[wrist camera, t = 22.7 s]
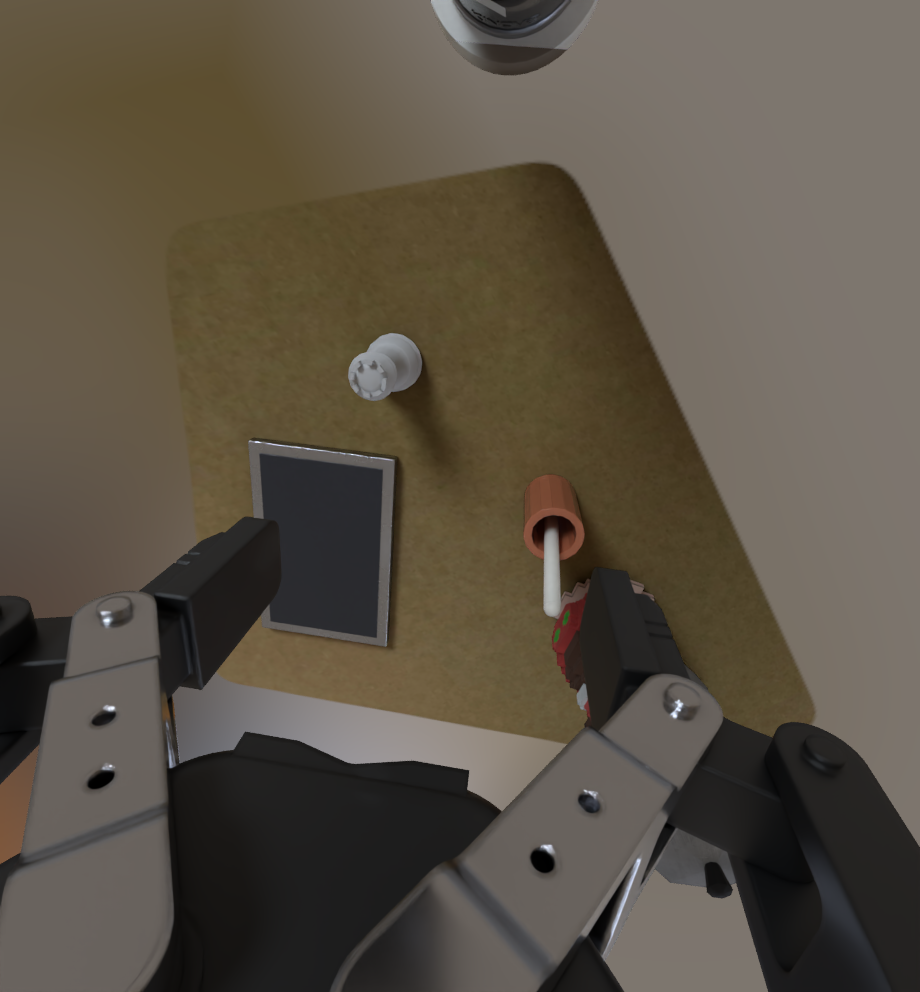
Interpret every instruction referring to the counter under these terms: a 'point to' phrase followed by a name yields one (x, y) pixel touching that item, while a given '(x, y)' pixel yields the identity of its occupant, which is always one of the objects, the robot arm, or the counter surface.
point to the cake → (576, 639)
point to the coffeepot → (697, 857)
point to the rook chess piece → (385, 367)
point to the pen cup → (548, 500)
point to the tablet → (328, 537)
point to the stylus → (551, 566)
